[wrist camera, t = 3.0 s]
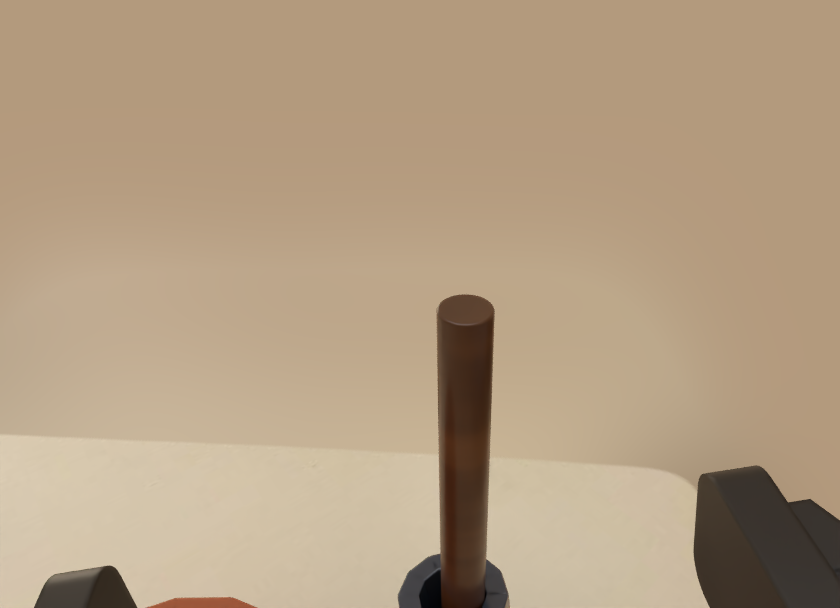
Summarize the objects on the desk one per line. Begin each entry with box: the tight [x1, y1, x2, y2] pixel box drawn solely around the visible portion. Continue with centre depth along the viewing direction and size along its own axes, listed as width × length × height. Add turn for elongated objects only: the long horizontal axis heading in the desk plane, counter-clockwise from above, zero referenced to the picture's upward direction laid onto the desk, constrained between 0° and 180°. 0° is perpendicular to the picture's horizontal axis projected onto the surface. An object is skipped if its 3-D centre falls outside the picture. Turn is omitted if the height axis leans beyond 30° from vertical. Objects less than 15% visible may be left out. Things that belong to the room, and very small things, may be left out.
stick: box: [437, 295, 494, 608], centre depth 26 cm, size 2×2×19 cm
